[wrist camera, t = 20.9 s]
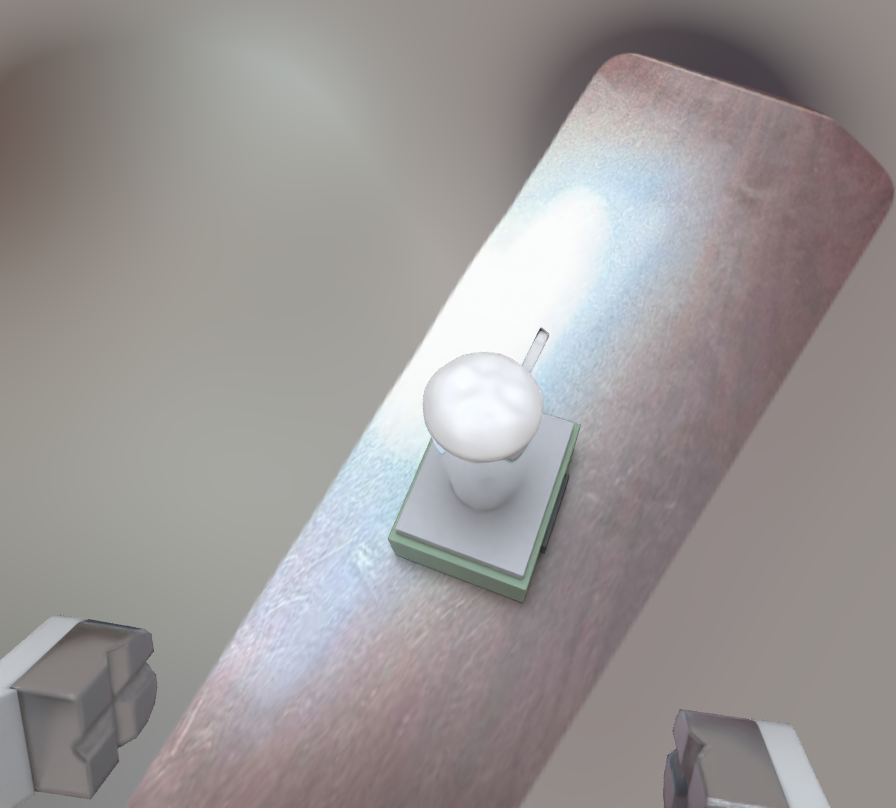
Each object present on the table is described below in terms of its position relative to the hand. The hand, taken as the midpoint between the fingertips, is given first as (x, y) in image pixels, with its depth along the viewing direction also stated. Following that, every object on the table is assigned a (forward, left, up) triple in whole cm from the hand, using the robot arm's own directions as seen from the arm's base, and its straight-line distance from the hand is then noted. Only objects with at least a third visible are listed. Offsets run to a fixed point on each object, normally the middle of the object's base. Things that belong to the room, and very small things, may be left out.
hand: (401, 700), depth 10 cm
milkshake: (+2, -11, -20) cm, 23 cm away
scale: (+3, -11, -24) cm, 26 cm away
